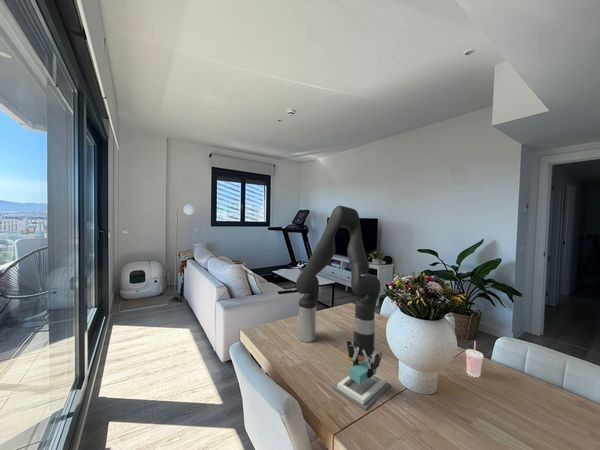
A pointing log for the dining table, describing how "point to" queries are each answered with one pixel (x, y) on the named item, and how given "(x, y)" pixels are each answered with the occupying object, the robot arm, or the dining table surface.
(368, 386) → the mat
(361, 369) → the teal block
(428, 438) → the dining table surface
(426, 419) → the dining table surface
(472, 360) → the beverage cup
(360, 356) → the shard
